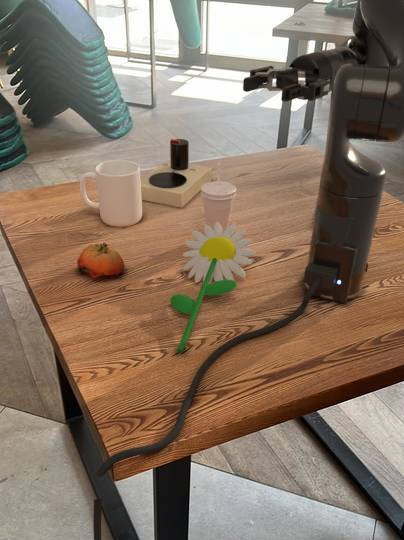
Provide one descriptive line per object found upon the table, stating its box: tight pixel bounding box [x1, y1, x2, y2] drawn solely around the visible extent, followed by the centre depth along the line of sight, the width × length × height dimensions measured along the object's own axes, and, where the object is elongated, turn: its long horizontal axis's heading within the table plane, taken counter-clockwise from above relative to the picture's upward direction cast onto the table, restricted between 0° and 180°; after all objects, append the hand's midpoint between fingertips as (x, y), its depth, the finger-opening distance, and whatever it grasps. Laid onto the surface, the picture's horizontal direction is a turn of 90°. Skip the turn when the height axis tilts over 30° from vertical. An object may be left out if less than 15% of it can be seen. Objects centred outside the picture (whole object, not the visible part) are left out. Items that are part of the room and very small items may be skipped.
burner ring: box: [149, 172, 187, 188], centre depth 121 cm, size 8×8×1 cm
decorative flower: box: [170, 222, 257, 354], centre depth 90 cm, size 13×5×30 cm
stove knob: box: [169, 138, 190, 170], centre depth 125 cm, size 4×4×6 cm
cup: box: [79, 159, 143, 228], centre depth 110 cm, size 8×12×10 cm
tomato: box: [76, 242, 125, 279], centre depth 96 cm, size 8×7×7 cm
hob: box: [140, 159, 213, 209], centre depth 124 cm, size 17×11×3 cm, turn 157°
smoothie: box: [200, 161, 237, 232], centre depth 103 cm, size 6×6×14 cm
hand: (263, 90), depth 99 cm, fingers open, 8 cm apart
